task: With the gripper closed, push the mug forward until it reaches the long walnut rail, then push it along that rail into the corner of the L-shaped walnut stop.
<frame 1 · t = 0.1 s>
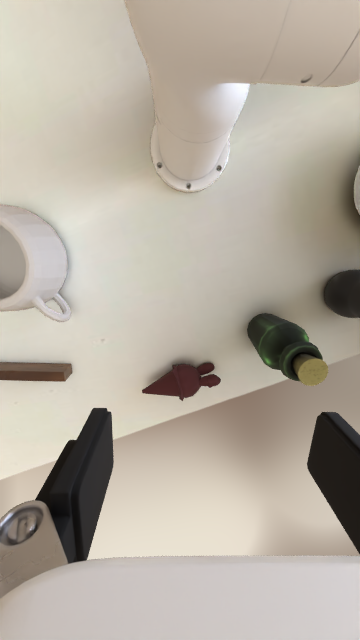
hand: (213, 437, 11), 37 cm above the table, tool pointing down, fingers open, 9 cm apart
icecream: (180, 373, 51), on the table
mug: (35, 269, 45), on the table
potion bottle: (263, 328, 49), on the table
cola bottle: (340, 290, 47), on the table
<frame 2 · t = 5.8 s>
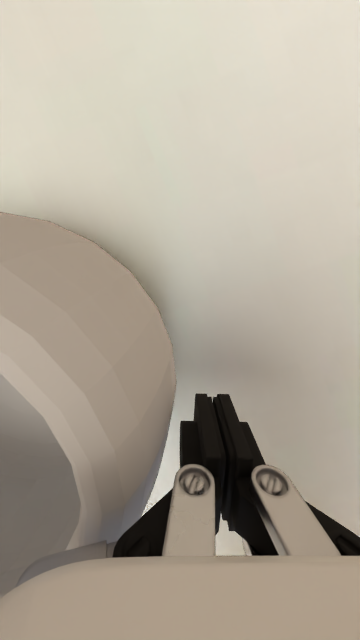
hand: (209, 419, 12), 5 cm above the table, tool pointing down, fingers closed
mug: (27, 378, 17), on the table, touching gripper
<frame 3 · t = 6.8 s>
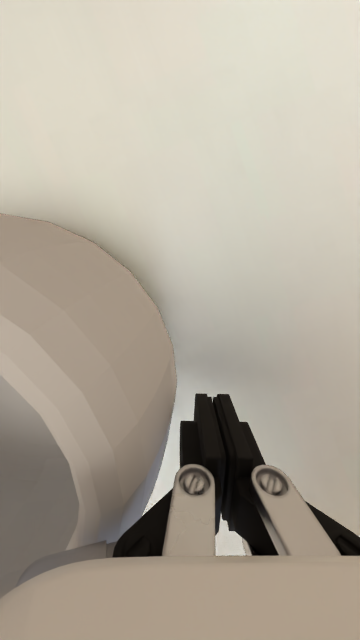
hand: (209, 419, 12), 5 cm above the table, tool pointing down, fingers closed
mug: (28, 379, 17), on the table, touching gripper
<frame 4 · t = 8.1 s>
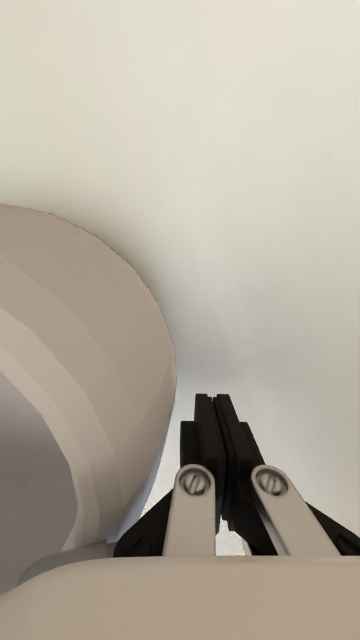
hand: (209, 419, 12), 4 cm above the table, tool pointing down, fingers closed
mug: (24, 373, 16), on the table, touching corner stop, gripper
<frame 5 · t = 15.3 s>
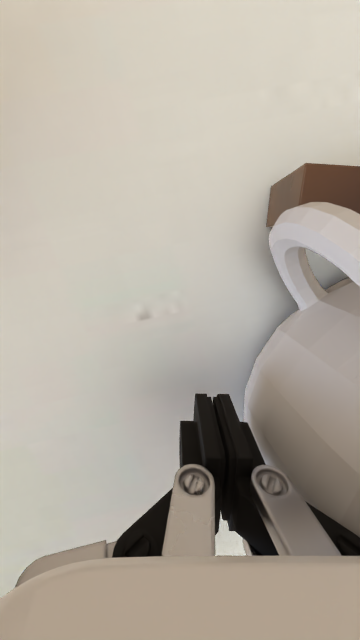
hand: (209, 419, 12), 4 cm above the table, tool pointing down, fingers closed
mug: (340, 363, 16), on the table, touching gripper
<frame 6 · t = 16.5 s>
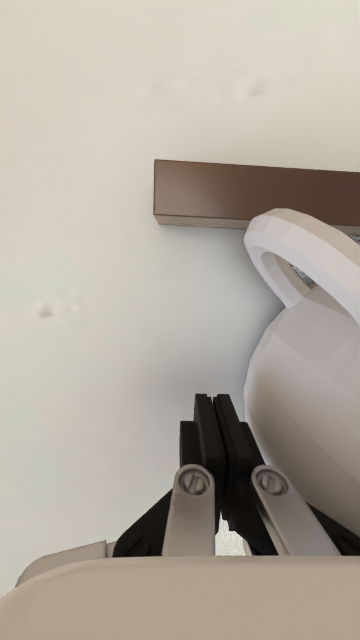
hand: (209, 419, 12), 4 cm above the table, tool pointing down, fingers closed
mug: (337, 354, 16), on the table, touching gripper
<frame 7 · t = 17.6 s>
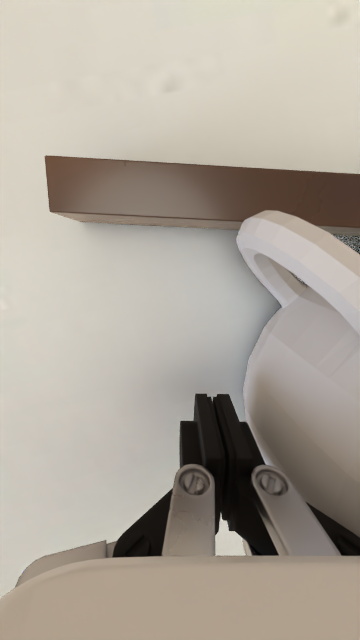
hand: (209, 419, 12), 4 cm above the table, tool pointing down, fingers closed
mug: (336, 351, 16), on the table, touching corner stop, gripper
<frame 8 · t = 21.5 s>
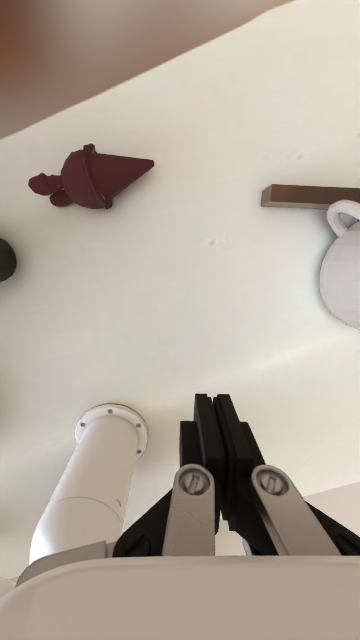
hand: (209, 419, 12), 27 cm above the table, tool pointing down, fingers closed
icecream: (102, 186, 34), on the table
mug: (357, 261, 37), on the table
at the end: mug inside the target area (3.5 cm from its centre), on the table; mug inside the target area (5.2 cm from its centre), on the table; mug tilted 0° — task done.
